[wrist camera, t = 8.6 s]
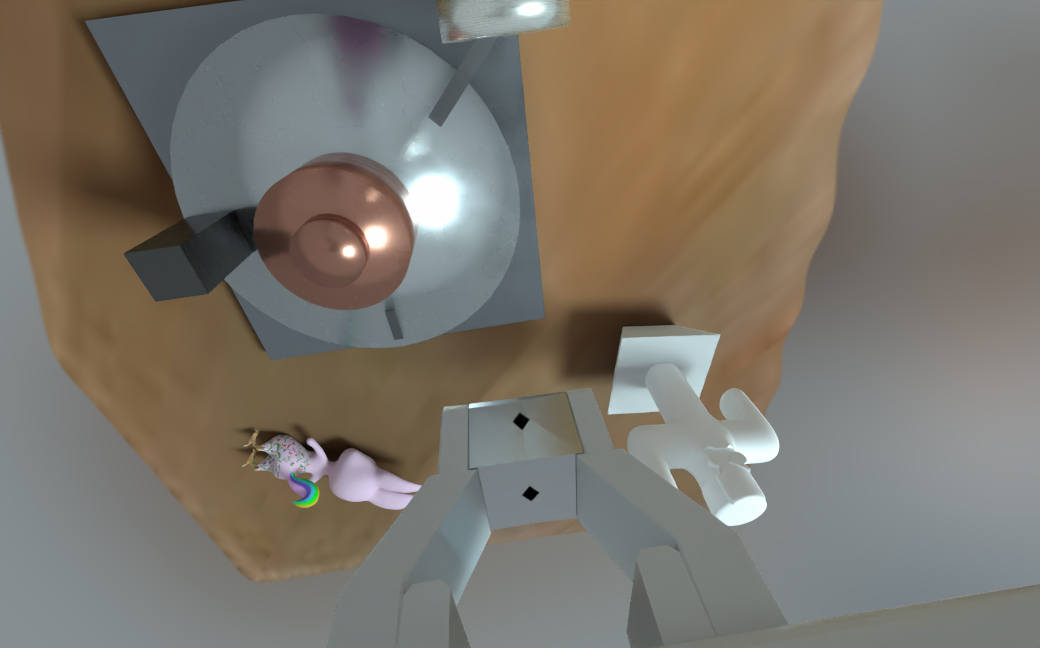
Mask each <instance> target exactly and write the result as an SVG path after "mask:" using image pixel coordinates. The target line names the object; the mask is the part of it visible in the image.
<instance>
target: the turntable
mask: <svg viewBox="0 0 1040 648" xmlns="http://www.w3.org/2000/svg"><path fill="white" fill-rule="evenodd" d="M456 71H457V70H456V69H455V68H454V67H453V66H451V65H450V64H449V63H448V62H446V61H445V60H444V59H443V58H441V57H440V56H439V55H437V54H436V53H435V52H433V51H432V50H431V49H429V48H427V47H426V46H424V45H422V44H420V43H419V42H417V41H415V40H413V39H412V38H410V37H408V36H406V35H404V34H401V33H399V32H396V31H394V30H391V29H389V28H386V27H384V26H381V25H379V24H376V23H372V22H368V21H364V20H360V19H356V18H352V17H348V16H339V15H330V14H320V13H319V14H299V15H289V16H285V17H280V18H276V19H271V20H266V21H264V22H261V23H259V24H257V25H254V26H252V27H249V28H247V29H244V30H242V31H240V32H239V33H237V34H236V35H234V36H233V37H231V38H229V39H228V40H226V41H225V42H223V43H222V44H220V45H219V46H218V47H217V48H216V49H215V50H214V51H213V52H212V53H211V54H210V55H209V56H208V57H207V58H206V59H204V60H203V62H202V63H201V64H200V66H199V67H198V68H197V70H196V71H195V73H194V74H193V75H192V77H191V78H190V80H189V81H188V83H187V85H186V88H185V90H184V92H183V94H182V96H181V98H180V100H179V102H178V106H177V110H176V114H175V117H174V121H173V125H172V134H171V144H170V158H171V173H172V178H173V183H174V188H175V193H176V197H177V200H178V203H179V206H180V209H181V212H182V214H183V217H184V219H183V220H181V221H179V222H178V223H176V224H174V225H172V226H171V227H169V228H167V229H166V230H164V231H162V232H160V233H159V234H157V235H155V236H153V237H152V238H150V239H148V240H146V241H145V242H143V243H141V244H139V245H138V246H136V247H134V248H132V249H131V250H129V251H127V252H126V253H124V255H125V257H126V258H127V260H128V261H129V263H130V264H131V266H132V267H133V269H134V270H135V272H136V273H137V275H138V276H139V278H140V279H141V281H142V282H143V284H144V285H145V287H146V288H147V290H148V291H149V293H150V294H151V296H152V297H153V298H154V300H155V301H163V300H170V299H176V298H183V297H190V296H197V295H203V294H208V293H209V292H210V291H211V290H213V289H214V288H215V287H216V286H217V285H218V284H219V283H220V282H221V281H222V280H223V279H224V280H225V281H226V282H227V283H228V284H229V285H230V286H231V287H232V288H233V289H234V290H235V291H236V292H237V293H238V294H239V295H241V296H242V297H243V298H244V299H246V300H247V301H248V302H249V303H250V304H252V305H253V306H254V307H256V308H257V309H259V310H260V311H262V312H263V313H265V314H266V315H268V316H269V317H271V318H272V319H274V320H276V321H278V322H280V323H282V324H283V325H285V326H287V327H289V328H291V329H293V330H296V331H298V332H301V333H303V334H305V335H308V336H311V337H314V338H317V339H320V340H323V341H327V342H331V343H336V344H340V345H345V346H353V347H362V348H388V347H398V346H404V345H409V344H414V343H419V342H422V341H425V340H428V339H431V338H434V337H436V336H438V335H441V334H443V333H445V332H447V331H449V330H451V329H453V328H454V327H456V326H458V325H459V324H461V323H462V322H464V321H465V320H467V319H468V318H469V317H470V316H471V315H473V314H474V313H475V312H476V311H478V310H479V309H480V308H481V306H482V305H483V304H484V303H485V302H486V301H487V300H488V299H489V298H490V297H491V295H492V294H493V293H494V291H495V290H496V288H497V287H498V286H499V284H500V283H501V281H502V279H503V277H504V275H505V273H506V271H507V269H508V267H509V265H510V262H511V259H512V256H513V254H514V251H515V247H516V242H517V238H518V233H519V222H520V195H519V187H518V182H517V176H516V170H515V167H514V164H513V161H512V158H511V154H510V151H509V148H508V146H507V144H506V142H505V139H504V137H503V135H502V133H501V131H500V128H499V126H498V124H497V122H496V120H495V119H494V117H493V115H492V114H491V112H490V110H489V109H488V107H487V106H486V104H485V102H484V101H483V100H482V98H481V97H480V96H479V95H478V93H477V92H476V91H475V90H474V88H473V87H472V86H471V85H470V83H469V84H468V86H467V87H466V89H465V90H464V92H463V93H462V95H461V97H460V98H459V100H458V101H457V103H456V104H455V106H454V108H453V109H452V111H451V112H450V114H449V115H448V117H447V119H446V120H445V122H444V123H443V125H442V126H441V127H440V126H438V125H437V124H436V123H435V122H433V121H432V120H431V119H429V118H428V116H429V115H430V113H431V111H432V110H433V108H434V107H435V105H436V103H437V102H438V100H439V99H440V97H441V95H442V94H443V92H444V90H445V89H446V87H447V86H448V84H449V82H450V81H451V79H452V77H453V76H454V74H455V73H456ZM337 152H343V153H353V154H358V155H361V156H365V157H368V158H370V159H372V160H374V161H376V162H378V163H380V164H381V165H383V166H385V167H386V168H387V169H389V170H390V171H391V172H392V173H394V174H395V175H396V176H397V177H398V178H399V179H400V181H401V182H402V183H403V184H404V186H405V187H406V189H407V190H408V192H409V193H410V195H411V197H412V199H413V202H414V205H415V208H416V211H417V216H418V233H417V238H416V242H415V245H414V249H413V253H412V256H411V260H410V263H409V267H408V270H407V273H406V275H405V278H404V279H403V281H402V283H401V284H400V286H399V287H398V288H397V289H396V291H395V292H393V293H392V294H391V295H390V296H389V297H387V298H386V299H385V300H383V301H381V302H379V303H377V304H375V305H372V306H370V307H366V308H362V309H355V310H337V309H330V308H325V307H321V306H318V305H315V304H312V303H310V302H308V301H305V300H303V299H301V298H300V297H298V296H296V295H294V294H293V293H292V292H290V291H289V290H287V289H286V288H285V287H284V286H283V285H281V284H280V283H279V282H278V281H277V280H276V279H275V278H274V276H273V275H272V274H271V273H270V271H269V270H268V269H267V267H266V266H265V264H264V262H263V261H262V259H261V257H260V255H259V252H258V250H257V246H256V243H255V238H254V231H253V230H254V217H255V212H256V209H257V206H258V204H259V202H260V200H261V198H262V197H263V195H264V194H265V193H266V192H267V190H268V189H269V188H270V187H271V186H273V185H274V184H275V183H276V182H278V181H279V180H281V179H282V178H284V177H285V176H287V175H288V174H290V173H291V172H293V171H294V170H296V169H297V168H299V167H300V166H302V165H303V164H305V163H306V162H308V161H310V160H311V159H313V158H315V157H318V156H320V155H324V154H328V153H337Z"/></svg>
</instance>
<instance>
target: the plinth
mask: <svg viewBox="0 0 1040 648" xmlns="http://www.w3.org/2000/svg"><path fill="white" fill-rule="evenodd" d="M319 13H320V14H330V15H339V16H348V17H352V18H356V19H360V20H364V21H368V22H372V23H376V24H379V25H381V26H384V27H386V28H389V29H391V30H394V31H396V32H399V33H401V34H404V35H406V36H408V37H410V38H412V39H413V40H415V41H417V42H419V43H420V44H422V45H424V46H426V47H427V48H429V49H431V50H432V51H433V52H435V53H436V54H437V55H439V56H440V57H441V58H443V59H444V60H445V61H446V62H448V63H449V64H450V65H451V66H453V67H454V68H455V69H456V70H457V69H458V68H459V66H460V65H461V63H462V61H463V60H464V58H465V56H466V55H467V53H468V52H469V50H470V48H471V47H472V45H473V43H474V42H475V41H466V42H456V43H442V38H441V33H440V27H439V22H438V16H437V10H436V5H435V0H241V1H233V2H225V3H218V4H210V5H202V6H195V7H187V8H179V9H171V10H164V11H156V12H148V13H141V14H133V15H125V16H118V17H110V18H102V19H95V20H87V21H85V22H86V24H87V26H88V28H89V30H90V32H91V33H92V35H93V37H94V39H95V41H96V42H97V44H98V46H99V48H100V50H101V52H102V53H103V55H104V57H105V59H106V61H107V63H108V64H109V66H110V68H111V70H112V72H113V73H114V75H115V77H116V79H117V81H118V83H119V84H120V86H121V88H122V90H123V92H124V93H125V95H126V97H127V99H128V101H129V103H130V104H131V106H132V108H133V110H134V112H135V113H136V115H137V117H138V119H139V121H140V123H141V124H142V126H143V128H144V130H145V132H146V134H147V135H148V137H149V139H150V141H151V143H152V144H153V146H154V148H155V150H156V152H157V154H158V155H159V157H160V159H161V161H162V163H163V164H164V166H165V168H166V170H167V172H168V174H169V175H170V177H171V179H172V181H173V178H172V173H171V158H170V144H171V134H172V125H173V121H174V117H175V114H176V110H177V106H178V102H179V100H180V98H181V96H182V94H183V92H184V90H185V88H186V85H187V83H188V81H189V80H190V78H191V77H192V75H193V74H194V73H195V71H196V70H197V68H198V67H199V66H200V64H201V63H202V62H203V60H204V59H206V58H207V57H208V56H209V55H210V54H211V53H212V52H213V51H214V50H215V49H216V48H217V47H218V46H219V45H220V44H222V43H223V42H225V41H226V40H228V39H229V38H231V37H233V36H234V35H236V34H237V33H239V32H240V31H242V30H244V29H247V28H249V27H252V26H254V25H257V24H259V23H261V22H264V21H266V20H271V19H276V18H280V17H285V16H289V15H299V14H319ZM469 83H470V85H471V86H472V87H473V88H474V90H475V91H476V92H477V93H478V95H479V96H480V97H481V98H482V100H483V101H484V102H485V104H486V106H487V107H488V109H489V110H490V112H491V114H492V115H493V117H494V119H495V120H496V122H497V124H498V126H499V128H500V131H501V133H502V135H503V137H504V139H505V142H506V144H507V146H508V148H509V151H510V154H511V158H512V161H513V164H514V167H515V170H516V176H517V182H518V187H519V195H520V222H519V233H518V238H517V242H516V247H515V251H514V254H513V256H512V259H511V262H510V265H509V267H508V269H507V271H506V273H505V275H504V277H503V279H502V281H501V283H500V284H499V286H498V287H497V288H496V290H495V291H494V293H493V294H492V295H491V297H490V298H489V299H488V300H487V301H486V302H485V303H484V304H483V305H482V306H481V308H480V309H479V310H478V311H476V312H475V313H474V314H473V315H471V316H470V317H469V318H468V319H467V320H465V321H464V322H462V323H461V324H459V325H458V326H456V327H454V328H453V329H451V330H449V331H447V332H445V333H451V332H458V331H464V330H471V329H477V328H484V327H490V326H497V325H504V324H510V323H517V322H523V321H530V320H536V319H543V318H545V312H544V302H543V291H542V281H541V270H540V260H539V250H538V239H537V229H536V218H535V208H534V197H533V187H532V177H531V166H530V156H529V145H528V135H527V125H526V114H525V104H524V93H523V83H522V73H521V62H520V52H519V41H518V35H513V36H506V37H498V39H497V40H496V42H495V43H494V45H493V46H492V48H491V50H490V51H489V53H488V54H487V56H486V57H485V59H484V61H483V62H482V64H481V65H480V67H479V68H478V70H477V72H476V73H475V75H474V76H473V78H472V79H471V81H470V82H469ZM231 288H232V287H231ZM232 290H233V292H234V294H235V296H236V297H237V299H238V301H239V303H240V305H241V306H242V308H243V310H244V312H245V314H246V316H247V317H248V319H249V321H250V323H251V325H252V327H253V328H254V330H255V332H256V334H257V336H258V337H259V339H260V341H261V343H262V345H263V347H264V348H265V350H266V352H267V354H268V356H269V357H270V359H271V360H275V359H282V358H288V357H295V356H301V355H308V354H314V353H321V352H327V351H334V350H341V349H347V348H354V347H353V346H345V345H340V344H336V343H331V342H327V341H323V340H320V339H317V338H314V337H311V336H308V335H305V334H303V333H301V332H298V331H296V330H293V329H291V328H289V327H287V326H285V325H283V324H282V323H280V322H278V321H276V320H274V319H272V318H271V317H269V316H268V315H266V314H265V313H263V312H262V311H260V310H259V309H257V308H256V307H254V306H253V305H252V304H250V303H249V302H248V301H247V300H246V299H244V298H243V297H242V296H241V295H239V294H238V293H237V292H236V291H235V290H234V289H233V288H232ZM445 333H443V334H445Z"/></svg>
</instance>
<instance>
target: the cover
mask: <svg viewBox="0 0 1040 648" xmlns="http://www.w3.org/2000/svg"><path fill="white" fill-rule="evenodd" d="M253 231H254V238H255V243H256V246H257V250H258V252H259V255H260V257H261V259H262V261H263V262H264V264H265V266H266V267H267V269H268V270H269V271H270V273H271V274H272V275H273V276H274V278H275V279H276V280H277V281H278V282H279V283H280V284H281V285H283V286H284V287H285V288H286V289H287V290H289V291H290V292H292V293H293V294H294V295H296V296H298V297H300V298H301V299H303V300H305V301H308V302H310V303H312V304H315V305H318V306H321V307H325V308H330V309H337V310H355V309H362V308H366V307H370V306H372V305H375V304H377V303H379V302H381V301H383V300H385V299H386V298H387V297H389V296H390V295H391V294H392V293H393V292H395V291H396V289H397V288H398V287H399V286H400V284H401V283H402V281H403V279H404V278H405V275H406V273H407V270H408V267H409V263H410V260H411V256H412V253H413V249H414V245H415V242H416V238H417V233H418V216H417V211H416V208H415V205H414V202H413V199H412V197H411V195H410V193H409V192H408V190H407V189H406V187H405V186H404V184H403V183H402V182H401V181H400V179H399V178H398V177H397V176H396V175H395V174H394V173H392V172H391V171H390V170H389V169H387V168H386V167H385V166H383V165H381V164H380V163H378V162H376V161H374V160H372V159H370V158H368V157H365V156H361V155H358V154H353V153H343V152H337V153H328V154H324V155H320V156H318V157H315V158H313V159H311V160H310V161H308V162H306V163H305V164H303V165H302V166H300V167H299V168H297V169H296V170H294V171H293V172H291V173H290V174H288V175H287V176H285V177H284V178H282V179H281V180H279V181H278V182H276V183H275V184H274V185H273V186H271V187H270V188H269V189H268V190H267V192H266V193H265V194H264V195H263V197H262V198H261V200H260V202H259V204H258V206H257V209H256V212H255V217H254V230H253Z"/></svg>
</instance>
